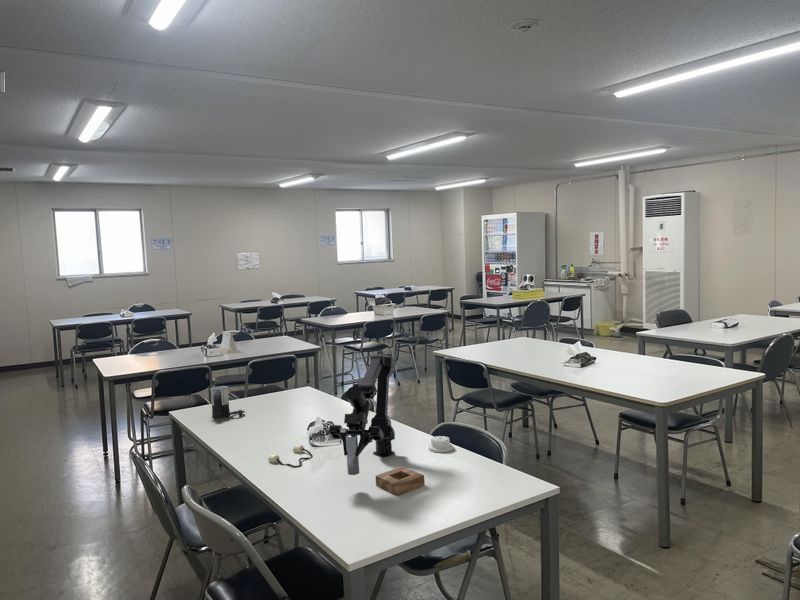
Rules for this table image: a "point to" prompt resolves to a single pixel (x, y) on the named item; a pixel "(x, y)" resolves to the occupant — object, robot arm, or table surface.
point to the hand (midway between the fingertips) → (351, 455)
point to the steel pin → (352, 454)
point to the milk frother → (221, 402)
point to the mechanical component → (440, 444)
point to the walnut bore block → (400, 480)
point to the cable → (296, 449)
